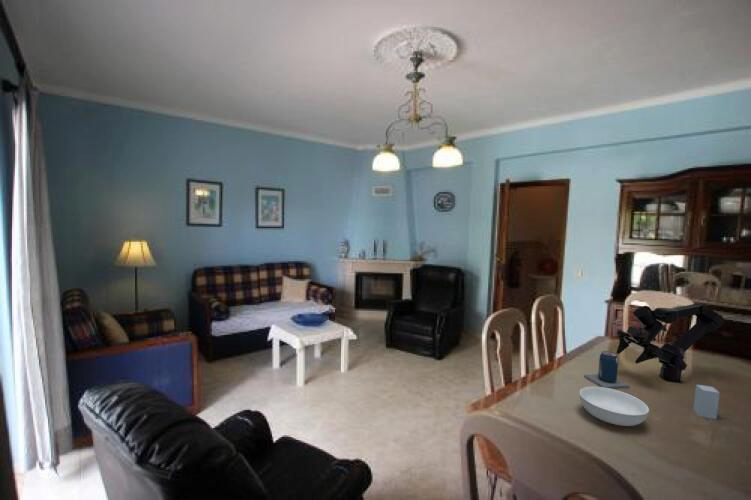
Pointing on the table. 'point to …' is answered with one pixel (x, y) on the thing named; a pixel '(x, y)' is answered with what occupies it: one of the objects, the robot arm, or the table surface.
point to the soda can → (608, 367)
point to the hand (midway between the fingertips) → (626, 358)
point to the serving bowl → (613, 406)
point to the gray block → (706, 401)
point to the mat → (597, 381)
